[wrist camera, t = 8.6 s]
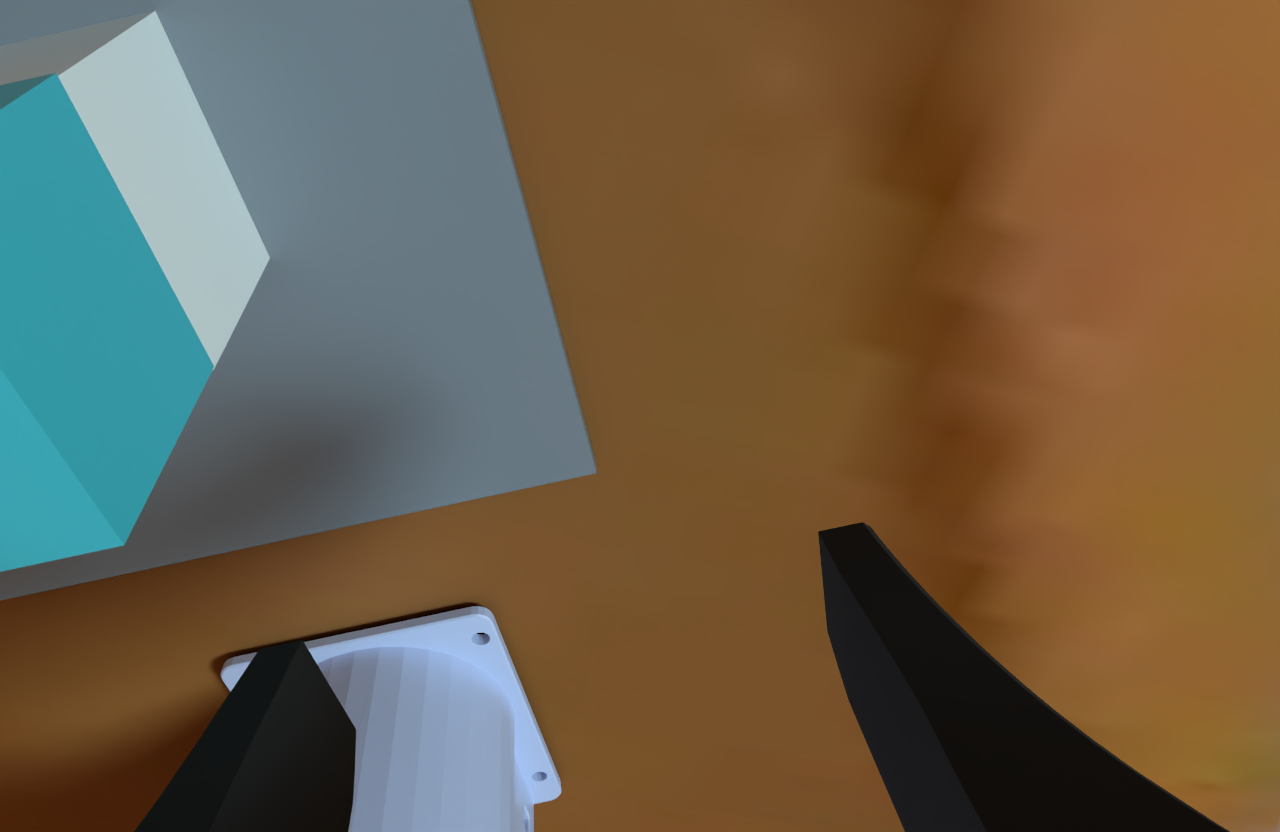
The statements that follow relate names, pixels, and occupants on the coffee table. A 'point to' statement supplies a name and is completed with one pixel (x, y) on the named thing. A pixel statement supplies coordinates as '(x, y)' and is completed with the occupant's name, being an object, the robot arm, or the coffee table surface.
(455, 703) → the robot arm
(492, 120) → the grey baseplate
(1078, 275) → the coffee table surface
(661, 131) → the coffee table surface
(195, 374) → the teal brick
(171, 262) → the cream brick
